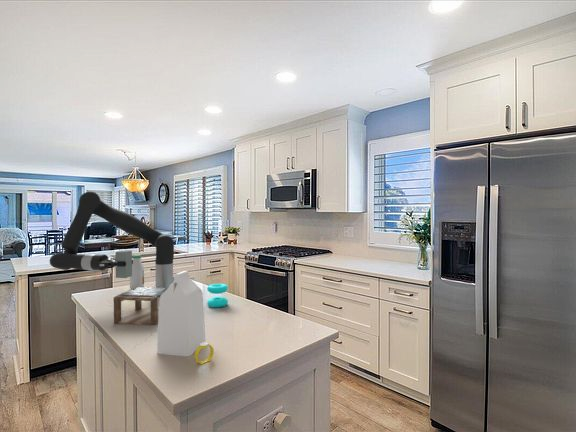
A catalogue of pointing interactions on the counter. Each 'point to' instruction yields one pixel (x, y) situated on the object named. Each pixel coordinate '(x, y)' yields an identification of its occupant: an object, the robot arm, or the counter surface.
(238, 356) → the counter surface
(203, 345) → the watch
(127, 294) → the trapdoor
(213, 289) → the donuts
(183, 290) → the milk
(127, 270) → the soapstone block
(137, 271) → the milk bottle
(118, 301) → the frame
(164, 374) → the counter surface
